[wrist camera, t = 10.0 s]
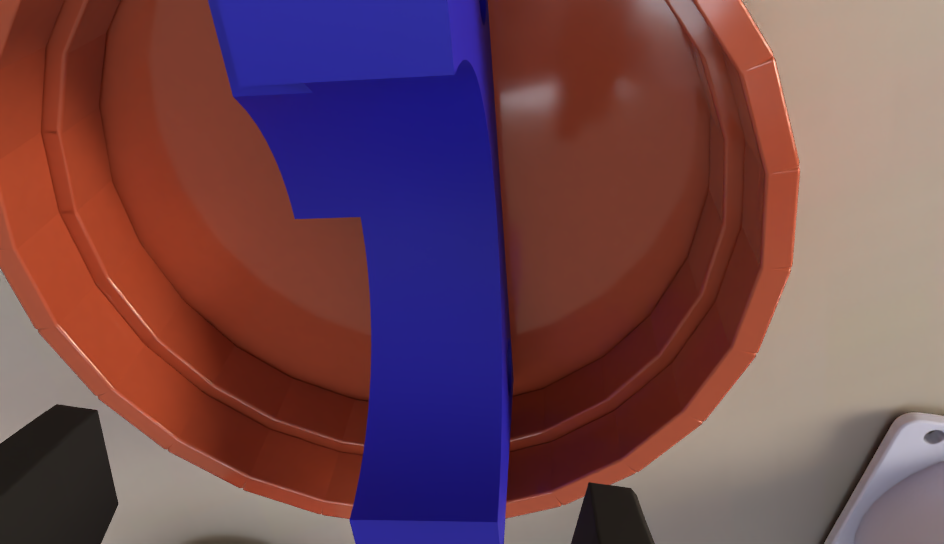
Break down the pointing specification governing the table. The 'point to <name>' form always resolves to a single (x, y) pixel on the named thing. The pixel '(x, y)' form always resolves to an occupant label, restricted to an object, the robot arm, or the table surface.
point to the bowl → (343, 248)
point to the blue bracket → (401, 233)
